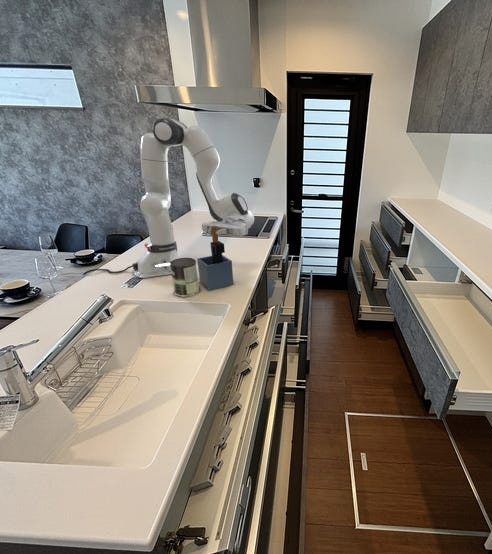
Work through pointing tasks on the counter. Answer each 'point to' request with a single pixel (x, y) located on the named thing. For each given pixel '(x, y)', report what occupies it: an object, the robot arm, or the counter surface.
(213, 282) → the bin
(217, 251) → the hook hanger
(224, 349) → the counter surface
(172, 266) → the coffee can
